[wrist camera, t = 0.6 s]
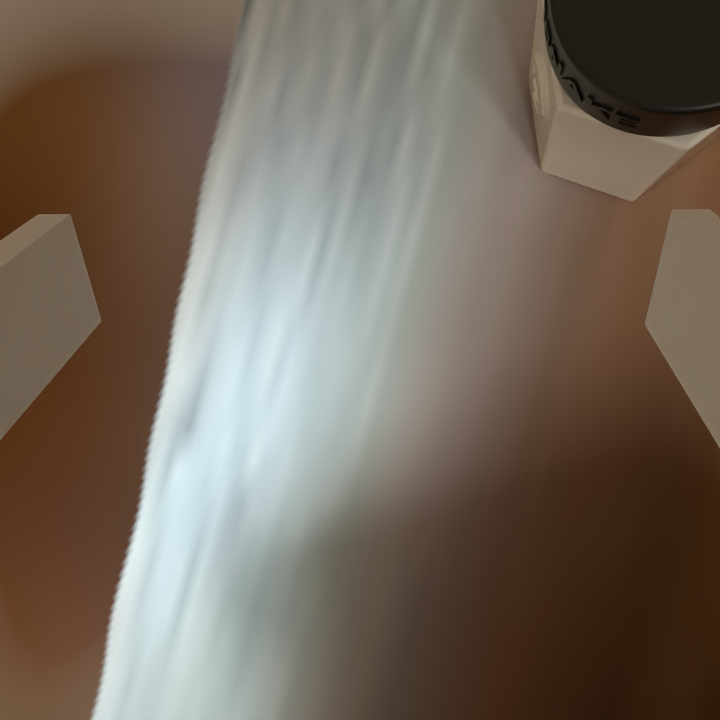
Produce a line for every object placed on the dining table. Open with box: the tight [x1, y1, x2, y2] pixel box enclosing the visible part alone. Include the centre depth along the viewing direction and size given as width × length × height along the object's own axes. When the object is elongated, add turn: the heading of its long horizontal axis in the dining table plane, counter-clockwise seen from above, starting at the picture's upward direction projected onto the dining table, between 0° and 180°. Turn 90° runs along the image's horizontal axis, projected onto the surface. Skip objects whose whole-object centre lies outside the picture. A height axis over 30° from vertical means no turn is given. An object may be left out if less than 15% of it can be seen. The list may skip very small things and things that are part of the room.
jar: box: [529, 0, 720, 201], centre depth 24 cm, size 9×8×12 cm
